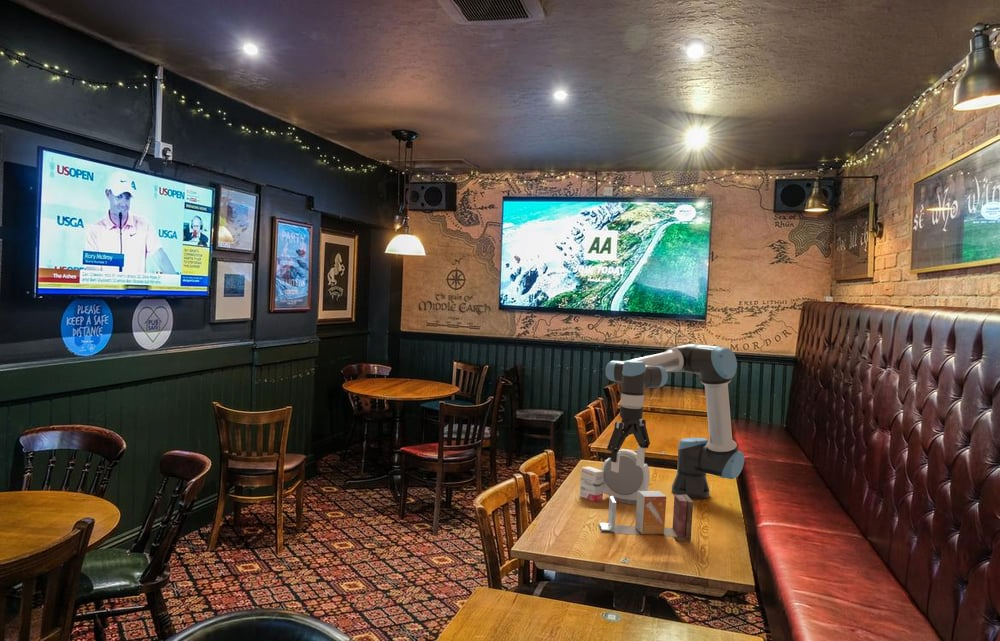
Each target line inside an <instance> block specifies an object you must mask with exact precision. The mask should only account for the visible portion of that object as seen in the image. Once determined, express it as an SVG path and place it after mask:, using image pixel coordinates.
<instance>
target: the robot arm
mask: <svg viewBox="0 0 1000 641" xmlns="http://www.w3.org/2000/svg"><path fill="white" fill-rule="evenodd" d="M737 368H738V362H737V358H736V355H735V353H734V352H733V351H732V350H731V349H730V348H728V347H722V346H721V345H720V346H719V345H717V346H716V345H709V344H708V345H706V344H698V343H697V344H696V343H689V344H683V345H678V346H675V347H670V348H667V349H666V350H665V351H664V352H660V353H656V354H650V355H645V356H643V357H642V356H641V357H638V358H637V357H636V358H632V359H628V360H627V359H626V360H611V361H609V362H608V363H607V364H606V367H605V377H606V378H607V379H608V380H609V381H612V382H615V383H621V392H620V393H621V394H620V405H621V406H620V407H619V417H620V418H621V422H620V421H614V422H615V423H614V429H613V431H612V434H611V436H610V439H609V442H608V445H607V447H606V450H607V451H608V452H611V453H610V454H611V456H610V458H611V471H614V472H617V473H618V472H619V460H620V453H619V452H618V451H619V450H621V447H622V446H623V444H624V443H625V441H626V439H627V437H629V436H630V435H633V436H634V439H635V440H636V442H637V445H638V446H637V447H636V453H637V459H636V465H637V466H640V467H644V462H645V456H646V449H648V448H649V446H650V445H651V442H650V441H651V440H650V438H649V434H648V429H647V424H646V422H647V421H646V419H643V416H644V415H643V412H644V409H643V408H642V407H644V403H645V402H644V397H645V389H653V388H654V389H655V388H656V389H657V388H660V387H663V386H665V385H666V384H667V382H668V379H669V378H668V377H669V374H668V372H671V373H677V372H678V373H680V372H682V373H689V374H690V373H691V374H694V375H699V380H700V381H699V382H700V383H701V384H702V385H704V394H705V403H706V414H707V415H706V416H707V424H708V426H707V428H708V436H709V438H708V439H709V440H708V439H707V438H704V437H685V438H681V439H680V440H679V442H678V448H677V464H676V465H677V467H676V468H677V469H676V474H675V477H674V480H673V482H672V485H671V493H672V494H674V495H682V494H685V495H688V497H689V498H690V499H691V500H692V499H693V500H694V499H695V500H703V499H704V500H705V499H708V498H709V497H710V486H709V483H708V479H707V474H709V475H713V476H716V477H721V478H722V479H728V480H734V479H736V478H738V476H740V474H741V472H742V470H743V468H744V464H745V454H744V453H743V452H742V451H740V450H738V445H737V442H736V441H735V440H733V433H732V432H733V431H732V421H731V407H730V395H729V394H730V392H729V384H730V383H731V381H732V378H734V377H735V376H736V372H737Z"/></svg>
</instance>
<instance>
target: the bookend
mask: <svg viewBox="0 0 1000 641" xmlns="http://www.w3.org/2000/svg"><path fill="white" fill-rule="evenodd" d="M608 500H609V502H608V518H607V519H608V520H607V522H599V524H600V527H601V530H602V531H611V532H615V525H616V513H617V501H615V499H614V497H613V496H610V497H608Z"/></svg>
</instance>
